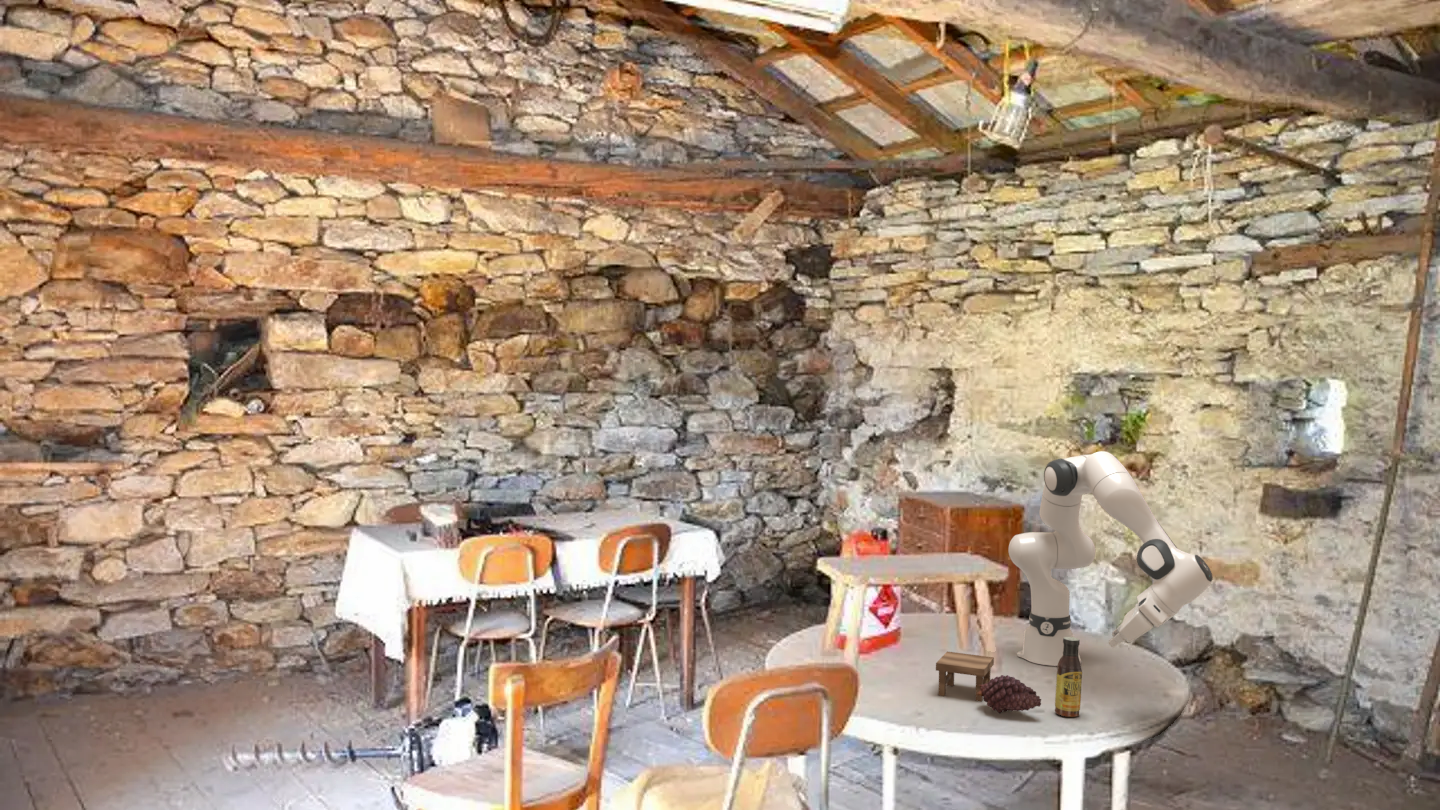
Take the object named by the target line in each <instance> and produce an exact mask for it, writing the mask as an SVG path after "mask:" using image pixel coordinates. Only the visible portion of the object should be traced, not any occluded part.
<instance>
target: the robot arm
mask: <svg viewBox="0 0 1440 810" xmlns="http://www.w3.org/2000/svg"><path fill="white" fill-rule="evenodd" d="M1043 481H1044V486H1043V490H1042V497H1041V500H1040V506H1039V507H1040V508H1039V514H1038V515H1039V517H1040V520H1041V521H1042V523H1043V524H1045V526H1047V527H1048V528H1049V529H1052V530H1053V531H1051V532H1045V531H1044V532H1041V531H1040V532H1039V531H1038V532H1037V531H1036V532H1032V531H1030V532H1029V531H1028V532H1024V533H1023V532H1022V533H1019V534H1018V533H1017V534H1015V535H1014V536H1012V538H1011V540H1010V541H1009V545H1008V556H1009V558H1010V560H1011V562H1012V563H1013V565H1015V566H1016V568H1019V570H1021V571H1022V573H1023V574H1024V575H1025V577H1026V579H1027V581H1028V583H1029V588H1030V599H1031V601H1030V603H1031V604H1030V605H1031V606H1030V607H1031V610H1030V612H1029V616H1028V619H1029V620H1028V623H1029V625H1028V627H1026V628H1025V630H1023V631H1024V632H1023V643H1022V649H1021V650H1018V652H1017V653H1016V656H1017V657H1019V658H1022V659H1024V660H1027V661H1028V662H1030V663H1034V664H1038V665H1044V666H1053V667H1054V666H1055V667H1056V666H1057V667H1058V662H1059V660H1060V658H1061V657H1062V656H1063V648H1064V643H1063V638H1064V637H1075V634H1074V633H1073V632H1072V630H1071V626H1072V625H1071V624H1072V623H1071V622H1072V621H1071V620H1072V619H1071V614H1070V596H1071V595H1070V590H1069V588H1068V586H1067V585H1066V584H1065V583H1063V582H1061V581H1060V580H1057V579H1056V578H1054V577H1052V570H1077V569H1082V568H1087V567H1089V566H1090V565H1092V564H1093V561H1094V560H1095V557H1096V546H1095V543H1094V541H1093V539H1092V538H1091V537H1090V536H1089V535H1087V534H1086V533H1085V532H1084V531H1083V530H1082V528H1081V526H1080V523H1079V520H1080V519H1079V518H1080V511H1081V510H1080V508H1081V503H1082V499H1083V496H1084V495H1089V494H1092V495H1093V497H1094V499H1095V500H1096V502H1097V503H1098V504H1099V506H1100V507H1101V508H1102V509H1103V510H1104V511H1105V512H1106V514H1108V516H1110V517H1112V518H1113V519H1115V520H1116V521H1117V522H1119V523H1120V524H1122V525H1124V526H1125V527H1126V528H1128V529H1129V530H1130V531H1132V532H1133V533H1134V534H1135V535H1136V536H1137V537H1138V538H1139V540H1141V542H1142V543H1143V544H1142V545H1141V546H1140V548H1139V549H1138V551H1137V554H1136V562H1137V565H1138V566H1139V568H1140V570H1141V571H1142V572H1143V573H1144V574H1146V575H1147V576H1149V577H1150V578H1151V579H1152V581H1153V582H1152V584H1151V585H1149V586H1148V587H1147V588H1146V589H1144V590H1143V591H1142V592H1141V593H1140V594H1138V595H1137V596H1136V600H1137V603H1135V606H1134V607H1132V608H1131V609H1130V610H1129V611H1127V613H1126V614H1125V615H1124V617H1123V620H1122V622H1121V623H1120V624H1119V625H1118V626H1117V628H1116V629H1114V630H1113V631H1112V632H1111V633H1112V634H1111V635H1112V636H1113V637H1112V638H1111V639H1109V640H1108V643H1107V644H1108V645H1109V646H1110V647H1111V648H1112V649H1114V648H1115V647H1117V646H1118V645H1120V644H1122V643H1123V642H1127V643H1131V642H1134V641H1136V640H1137V639H1138V638H1140V637H1142V636H1143V635H1145V634H1146V633H1148V632H1149V631H1150V630H1152V629H1153V628H1154V627H1155V628H1159V627H1160V626H1161V625H1162V626H1163V625H1164V624H1165V623H1167V622H1168V621H1169V620H1170V619H1172V618H1173V617H1174V616H1176V615H1177V614H1178V613H1179V612H1180V611H1181V609H1182V608H1183V607H1184V606H1186V605H1188V604H1190V603H1192V602H1193V601H1194V600H1196V599H1197V598H1198V597H1199V596H1200V595H1202V594H1203V592H1205V591H1206V590H1207V589H1208V588H1209V586H1210V585H1211V584H1212V582H1213V580H1214V579H1213V573H1212V570H1211V569H1210V566H1209V565H1208V564H1207V563H1206V562H1205V560H1204V559H1203V558H1202V557H1201V556H1199V555H1198V554H1195V553H1190V552H1189V553H1188V552H1186V551H1183V550H1181V549H1179V548H1178V547H1177V546H1176V545H1175V543H1174V542H1173V541H1172V539H1171V538H1170V537H1169V535H1168V534H1167V532H1166V531H1165V529H1164V528H1163V527H1162V525H1161V524H1160V522H1159V521H1158V520H1157V518H1156V516H1155V514H1154V513H1153V512H1152V510H1151V508H1150V506H1149V504H1148V503H1147V501H1146V500H1145V498H1144V495H1143V494H1142V492H1141V490H1140V488H1139V487H1138V484H1137V483H1136V481H1135V480H1134V478H1133V477H1132V475H1131V474H1130V473H1129V471H1128V470H1127V469H1126V467H1125V466H1124V465H1123V464H1122V462H1120V460H1119V459H1118V457H1117V456H1116V455H1114V454H1112V453H1111V452H1108V451H1106V450H1105V451H1104V450H1101V451H1097V452H1094V453H1091V454H1081V455H1075V456H1070V457H1066V458H1065V457H1064V458H1058V459H1054V460H1051V461H1050V462H1048V463H1047V464H1046V465H1045V468H1044V471H1043ZM1078 657H1079V661H1080V663H1081V664H1082V659H1081V656H1080V652H1079V651H1078Z"/></svg>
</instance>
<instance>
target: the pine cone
mask: <svg viewBox="0 0 1440 810" xmlns="http://www.w3.org/2000/svg"><path fill="white" fill-rule="evenodd" d="M979 686H980V687H981V688H980V691H979V692H978V693H977V695H978V696H983V702H985V703H986V706H987V707H988V708H990V709H991V710H992V711H994V712H996V711H997V713H998V714H1001V713H1006V712H1014V711H1015V712H1019V711H1020V712H1023V711H1029V710H1031V709H1035V707H1041V705H1042V698H1040V696H1039V695H1037V691H1035V690H1034V689H1033V688H1031V687H1030V686H1026V684H1025V683H1024V682H1021V680H1020V679H1017V678H1015V677H1014V676H1010V675H1002V674H1001V675H1000V676H996V677H994V678H990V682H988V683H986V684H984V685H979Z"/></svg>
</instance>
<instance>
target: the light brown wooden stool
mask: <svg viewBox="0 0 1440 810" xmlns="http://www.w3.org/2000/svg"><path fill="white" fill-rule="evenodd" d="M994 657H995V656H987V655H980V654H979V655H978V654H971V653H962V652H954V651H946V652H945V653H944V654H943V655H942V656H941V657H940V659H939V660H937V661H936V662H935V671H938V694H937V695H939V696H940V697H946V695H947V692H946V691H947V688H946V687H947V686H948V687H953V686H955V674H961V675H967V676H974V677H975V701H976V702H980V703H981V702H983V701H984V699H983V696H978V695H977V693H978V692H979V691H980V688H981V687H980V686H979V685H984V684H986V683H988V682H990V680H991V669H992V667H993V666H994V665H995V664H994V663H995V658H994Z"/></svg>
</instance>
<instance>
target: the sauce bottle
mask: <svg viewBox="0 0 1440 810" xmlns="http://www.w3.org/2000/svg"><path fill="white" fill-rule="evenodd" d="M1063 643H1064V648H1063V656H1062V657H1061V658H1060V660H1059V662H1058V666H1057V671H1056V681H1055V697H1054V713H1055V714H1056V715H1058V716H1060V715H1061V717H1064V716H1065V717H1066V718H1075V717H1079V715H1080V710H1081V700H1082V699H1081V698H1082V683H1083V669H1082V665H1081V664H1082V662H1081V663H1080V661H1079V657H1078V652H1079V646H1080V639H1079V638H1078V637H1075V636H1074V637H1064V638H1063Z"/></svg>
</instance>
